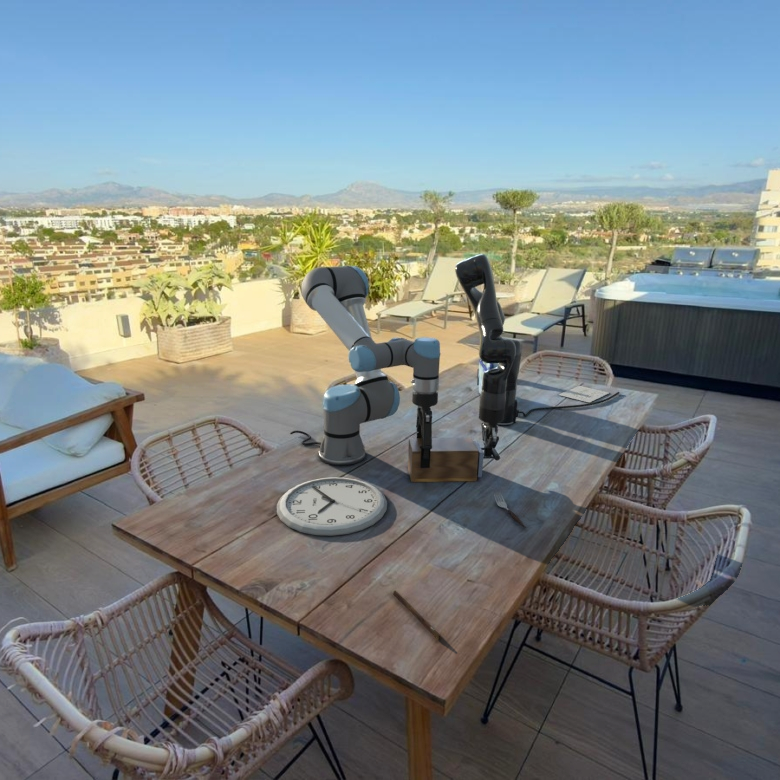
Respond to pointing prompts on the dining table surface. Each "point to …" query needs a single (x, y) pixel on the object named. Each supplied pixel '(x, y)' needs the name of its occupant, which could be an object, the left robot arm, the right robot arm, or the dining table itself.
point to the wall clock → (331, 506)
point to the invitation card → (584, 394)
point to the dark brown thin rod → (416, 614)
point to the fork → (503, 505)
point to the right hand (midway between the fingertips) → (487, 457)
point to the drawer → (481, 457)
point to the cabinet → (444, 460)
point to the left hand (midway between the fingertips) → (422, 459)
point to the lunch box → (482, 369)
